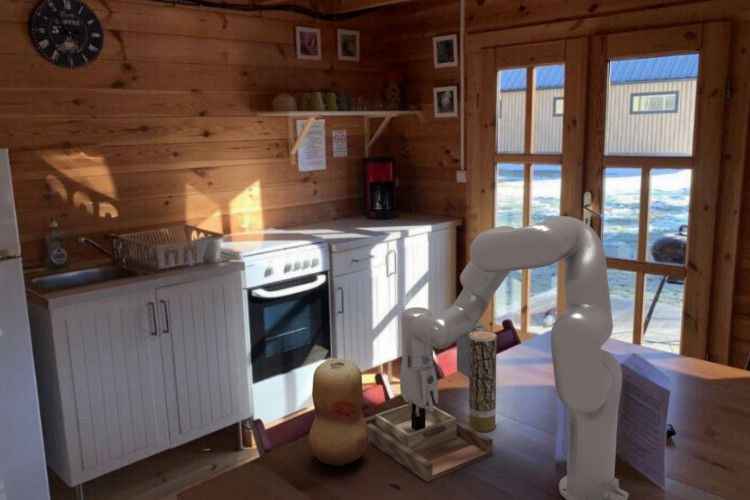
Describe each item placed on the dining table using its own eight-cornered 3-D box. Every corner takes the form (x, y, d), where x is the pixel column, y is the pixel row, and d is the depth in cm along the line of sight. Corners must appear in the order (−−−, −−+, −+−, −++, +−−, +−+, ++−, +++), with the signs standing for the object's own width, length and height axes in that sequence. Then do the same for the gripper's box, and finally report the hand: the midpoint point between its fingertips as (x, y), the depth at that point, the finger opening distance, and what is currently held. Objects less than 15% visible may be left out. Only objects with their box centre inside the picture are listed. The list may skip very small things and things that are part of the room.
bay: (492, 454, 157) (492, 435, 156) (427, 482, 146) (426, 461, 145) (424, 415, 178) (424, 398, 177) (362, 437, 167) (362, 419, 166)
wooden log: (495, 433, 167) (496, 340, 162) (468, 431, 168) (468, 339, 163) (495, 421, 173) (496, 331, 168) (469, 420, 175) (470, 330, 170)
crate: (459, 438, 162) (459, 419, 161) (411, 457, 154) (410, 437, 153) (421, 416, 175) (421, 399, 174) (375, 433, 166) (374, 414, 165)
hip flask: (455, 368, 210) (455, 308, 206) (466, 366, 212) (466, 307, 208) (479, 387, 196) (479, 323, 192) (491, 385, 197) (491, 321, 193)
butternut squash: (316, 481, 147) (311, 376, 142) (306, 453, 160) (301, 355, 155) (375, 471, 150) (373, 368, 145) (361, 444, 163) (358, 348, 158)
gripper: (449, 364, 156) (449, 435, 159) (411, 346, 168) (412, 413, 171) (424, 371, 151) (425, 444, 155) (387, 353, 164) (388, 421, 167)
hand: (418, 428), depth 163 cm, fingers closed
